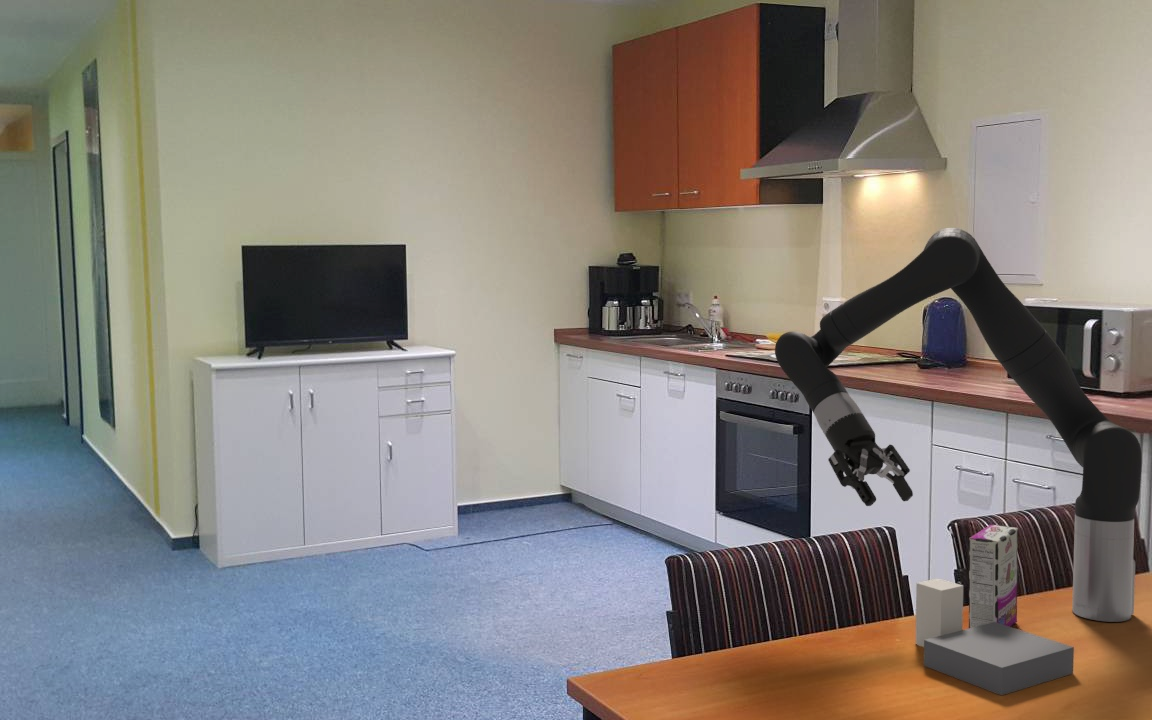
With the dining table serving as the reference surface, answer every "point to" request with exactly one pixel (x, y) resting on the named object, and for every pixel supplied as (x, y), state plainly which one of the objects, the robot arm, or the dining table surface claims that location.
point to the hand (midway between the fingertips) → (890, 501)
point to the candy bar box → (993, 576)
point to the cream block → (938, 609)
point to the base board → (998, 657)
